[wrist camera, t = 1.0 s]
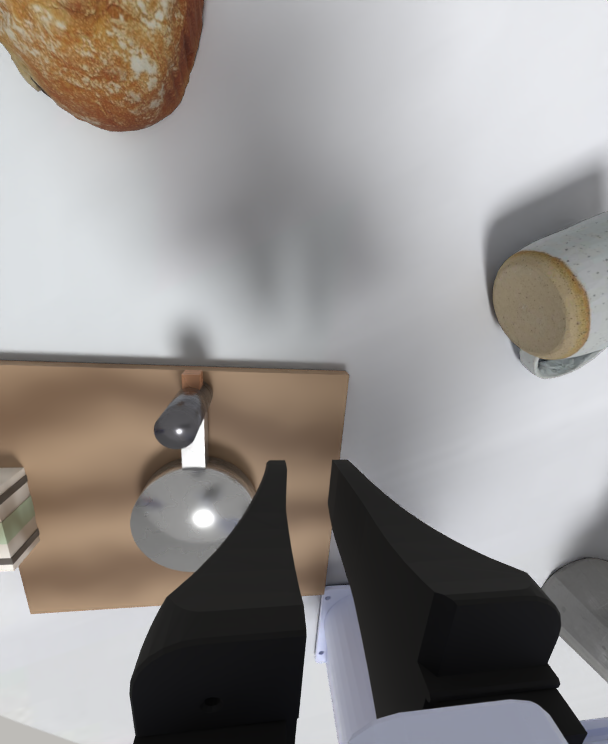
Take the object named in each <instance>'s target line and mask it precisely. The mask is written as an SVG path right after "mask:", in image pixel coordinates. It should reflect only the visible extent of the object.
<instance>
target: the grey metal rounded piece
mask: <svg viewBox="0 0 608 744" xmlns="http://www.w3.org/2000/svg"><path fill="white" fill-rule="evenodd" d="M181 376H182V388H181V389H180V391H179V392H178V393H177V395H176V396H175V397H174V399H173V400H172V401H171V402H170V404H169V405H168V406H167V408H166V409H165V410H164V412H163V413H162V414H161V416H160V417H159V418H158V420H157V421H156V423H155V425H154V435H155V437H156V439H157V441H158V442H159V443H160V444H162V445H163V446H165V447H167V448H170V449H181V452H182V458H180V459H177V460H174V461H172V462H170V463H168V464H166V465H164V466H163V467H161V468H160V469H159V470H157V471H156V472H155V473H154V474H153V475H152V477H151V478H150V479H149V481H148V482H147V484H146V486H145V487H144V489H143V491H142V493H141V494H140V496H139V498H138V500H137V501H136V503H135V505H134V507H133V510H132V513H131V519H130V528H131V533H132V536H133V539H134V541H135V543H136V545H137V546H138V548H139V549H140V550H141V551H142V552H143V553H144V554H145V555H146V556H147V557H148V558H150V559H151V560H152V561H154V562H156V563H157V564H159V565H162V566H164V567H166V568H170V569H173V570H177V571H184V572H195V571H197V570H198V569H199V568H200V567H201V565H202V564H203V563H204V562H205V561H206V560H207V559H208V558H209V557H210V556H211V555H212V554H213V553H214V552H215V551H216V550H217V549H218V548H219V546H220V545H221V544H222V543H223V542H224V540H225V539H226V538H227V537H228V535H229V534H230V533H231V532H232V530H233V529H234V528H235V526H236V525H237V523H238V522H239V520H240V519H241V518H242V516H243V514H244V513H245V511H246V510H247V508H248V506H249V504H250V503H251V501H252V499H253V497H254V495H255V489H254V487H253V485H252V483H251V481H250V479H249V478H248V477H247V476H246V474H245V473H244V472H243V471H241V470H240V469H239V468H238V467H236V466H235V465H233V464H231V463H229V462H227V461H225V460H222V459H219V458H215V457H210V456H208V417H207V410H208V408H209V405H210V403H211V401H212V398H213V392H212V389H211V387H210V386H209V385H208V384H207V383H206V382H204V381H203V370H185V371H184V372H183V373H182V374H181Z"/></svg>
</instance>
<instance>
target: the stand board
mask: <svg viewBox="0 0 608 744" xmlns="http://www.w3.org/2000/svg"><path fill="white" fill-rule="evenodd" d="M185 370H203V381H204V382H206V383H207V384H208V385H209V386H210V387H211V389H212V392H213V398H212V401H211V403H210V405H209V408H208V410H207V417H208V456H210V457H215V458H219V459H222V460H225V461H227V462H229V463H231V464H233V465H235V466H236V467H238V468H239V469H240V470H241V471H243V472H244V473H245V474H246V476H247V477H248V478H249V479H250V481H251V483H252V485H253V487H254V489H255V493H256V491H257V489H258V487H259V485H260V483H261V480H262V478H263V475H264V472H265V468H266V463H267V462H268V461H269V460H285V462H286V466H287V490H286V513H287V521H288V529H289V535H290V542H291V548H292V554H293V559H294V565H295V570H296V575H297V579H298V584H299V589H300V593H301V596H312V595H324V592H325V583H326V574H327V565H328V557H329V548H330V539H331V530H332V525H331V520H330V515H329V509H328V494H329V485H330V475H331V466H332V460H340V451H341V443H342V434H343V425H344V416H345V408H346V399H347V390H348V381H349V374H348V373H347V372H346V371H333V370H301V369H269V368H236V367H204V366H172V365H140V364H107V363H75V362H43V361H10V360H0V572H3V571H15V569H16V568H17V567H18V566H19V570H20V574H21V578H22V582H23V586H24V590H25V594H26V598H27V601H28V605H29V609H30V613H31V614H39V613H54V612H69V611H84V610H100V609H115V608H130V607H145V606H160V605H162V604H163V602H164V600H165V599H166V597H167V596H168V595H169V594H171V593H172V592H173V591H174V590H175V589H176V588H177V587H179V586H180V585H181V584H182V583H183V582H184V581H186V580H187V579H188V578H189V577H190V576H191V575H192V574H193V573H194V572H184V571H177V570H173V569H170V568H166V567H164V566H162V565H159V564H157V563H156V562H154V561H152V560H151V559H150V558H148V557H147V556H146V555H145V554H144V553H143V552H142V551H141V550H140V549H139V548H138V546H137V545H136V543H135V541H134V539H133V536H132V533H131V528H130V519H131V513H132V510H133V507H134V505H135V503H136V501H137V500H138V498H139V496H140V494H141V493H142V491H143V489H144V487H145V486H146V484H147V482H148V481H149V479H150V478H151V477H152V475H153V474H154V473H155V472H156V471H157V470H159V469H160V468H161V467H163V466H164V465H166V464H168V463H170V462H172V461H174V460H177V459H180V458H182V452H181V449H170V448H167V447H165V446H163V445H162V444H160V443H159V442H158V441H157V439H156V437H155V435H154V425H155V423H156V421H157V420H158V418H159V417H160V416H161V414H162V413H163V412H164V410H165V409H166V408H167V406H168V405H169V404H170V402H171V401H172V400H173V399H174V397H175V396H176V395H177V393H178V392H179V391H180V389H181V388H182V376H181V374H182V373H183V372H184V371H185Z"/></svg>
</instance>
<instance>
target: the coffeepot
mask: <svg viewBox="0 0 608 744" xmlns="http://www.w3.org/2000/svg"><path fill="white" fill-rule="evenodd" d="M541 589H542V590H543V591H544V593H545V594H546V595H547V596H548V597H549V598H550V599H551V601H552V602H553V603H554V604H555V605H556V607H557V608H558V610H559V612H560V614H561V630H560V633H559V636H560V637H561V638H562V639H563V640H564V641H565V642H566V643H567V644H568V645H569V646H570V647H572V648H573V649H574V650H575V651H576V652H577V653H578V654H579V655H580V656H581V657H582V658H583V659H584V660H585V661H586V662H587V663H588V664H589V665H590V666H591V667H592V668H593V669H594V670H595V671H596V672H597V673H598V674H599V675H600V676H601V677H602V678H603V679H604V680H605V681H606V682H607V683H608V561H605V560H601V559H598V558H586V559H581V560H577V561H574V562H572V563H569V564H567V565H566V566H564V567H562V568H560V569H559V570H558V571H556V572H555V573H554V574H553V575H552V576H551V577H550V578H549V579H548V580H547V581H546V582H545V584H544V585H543V586H542V588H541Z"/></svg>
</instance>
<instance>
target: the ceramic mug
mask: <svg viewBox="0 0 608 744" xmlns="http://www.w3.org/2000/svg"><path fill="white" fill-rule="evenodd" d="M493 306H494V310H495V313H496V316H497V319H498V322H499V324H500V326H501V327H502V329H503V331H504V332H505V334H506V335H507V336H508V337H509V339H510V340H511V341H512V342H513V343H514V344H515V345H517V346H518V347H519V348H520V352H519V354H520V360H521V363H522V364H523V366H524V367H525V368H526V369H527V370H529V371H530V372H531V373H532V374H534V375H536V376H538V377H540V378H543V379H550V378H556V377H560V376H563V375H566V374H568V373H571V372H573V371H575V370H577V369H579V368H581V367H582V366H584V365H585V364H587V363H589V362H590V361H591V360H593V359H594V358H595V357H597V356H598V355H599V354H600V353H601V352H602V351H603V350H604V349H605V348H607V347H608V211H606V212H604V213H601V214H599V215H596V216H594V217H592V218H589V219H587V220H584V221H582V222H580V223H578V224H575V225H573V226H571V227H569V228H566V229H564V230H562V231H559V232H557V233H554V234H552V235H549V236H547V237H544V238H542V239H539V240H537V241H535V242H533V243H531V244H529V245H527V246H526V247H524V248H523V249H521V250H519V251H518V252H516V253H515V254H513V255H512V256H510V257H509V258H508V259H507V260H506V261H505V262H504V263H503V265H502V266H501V267H500V269H499V271H498V273H497V276H496V278H495V281H494V286H493ZM540 358H541V359H547V361H544V362H538V361H539V359H540Z"/></svg>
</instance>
